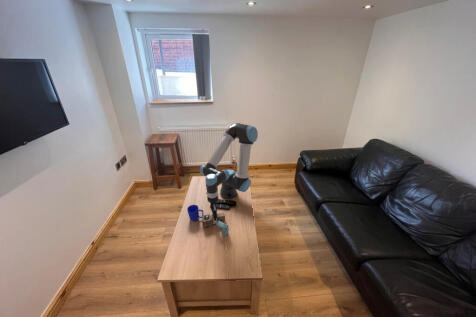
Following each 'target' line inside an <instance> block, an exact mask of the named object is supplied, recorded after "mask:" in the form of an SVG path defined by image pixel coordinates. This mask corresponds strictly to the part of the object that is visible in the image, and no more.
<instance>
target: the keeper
mask: <svg viewBox="0 0 476 317" xmlns="http://www.w3.org/2000/svg"><path fill="white" fill-rule="evenodd" d="M215 226H217V227H218V228H220V229H221V232H222V233H221V234H222V235H223V236H224V237H226V236H228V234H229V224H226V223H224V221H218V222H217V223H215Z"/></svg>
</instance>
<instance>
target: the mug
mask: <svg viewBox="0 0 476 317" xmlns="http://www.w3.org/2000/svg"><path fill="white" fill-rule="evenodd" d="M186 210H187V214H188V217H189V218H188V219H189V220H190V221H192V222H195V221H198V219H202V215H204V210H203V209H199V206H198V205H196V204H191V205H189V206H188V207H187V209H186ZM200 212H201V214H202V215H201V216H200V214H199V213H200Z"/></svg>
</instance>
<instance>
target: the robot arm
mask: <svg viewBox="0 0 476 317" xmlns="http://www.w3.org/2000/svg"><path fill="white" fill-rule="evenodd" d="M258 133H259V132H258V129H257V128H256V126H253V125H249V124H244V123H240V122H239V123H238V122H237V123H233V124H231V125H230V126H229V127H228V128H227V129H226V130H225V131H224V133H223V135H222V139H221V140H220V141H219V144H218V145H217V147H216V149H214V152H213V153H212V155H211V156H210V158H209V160H208V161H207V163H206V164H203V165H201V166H200V168H199V173H200V175H202V176H204V177H205V183H204V184H205V189H206V193H205V194H206V198H207V202H208V203H210V211H211V215H213V216H212V218H213V224H216V223H217V214H218V207H217V202H219V195H220V197H221V198H223V199H225V200H231V199H234V198H236V197H237V195H238V191H239V192H242V193H245V192H247V191H248V190H249V188H250V187H251V184H252V180H251V179H250V176H249V173H248V172H249V164H250V157H251V156H250V155H251V151H252V150H251V149H252V146H253V145H254V143H255V142H257V139H258V136H259V134H258ZM236 139H237V140H238V143H239V151H238V152H239V153H238V162H237V168H236V170H237V171H236V173H235V170H233V169H222V170H219V169H218V168H217V167H218V165H219V164H220V162H221V161H222V159H223V158H224V156H225V154H226V152H227V150H228V149H229V147H230V146H231V144H232V142H234V141H235V140H236ZM220 185H221V186H220ZM219 186H220V187H221V188H220V191H219V190H218V187H219Z"/></svg>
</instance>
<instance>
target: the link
mask: <svg viewBox="0 0 476 317" xmlns="http://www.w3.org/2000/svg"><path fill="white" fill-rule="evenodd" d="M206 215H208V219H207V220H206V217H205V216H206ZM212 216H213V215H212V214H211V213H207V214H203V215H201V217H202V218H201V222H202V227H203V228H206V227H211V226H213V224H214V223H213V218H212ZM218 221H221V222H224V221H226V215H225V212H220V213H218V212H217V222H218Z"/></svg>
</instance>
